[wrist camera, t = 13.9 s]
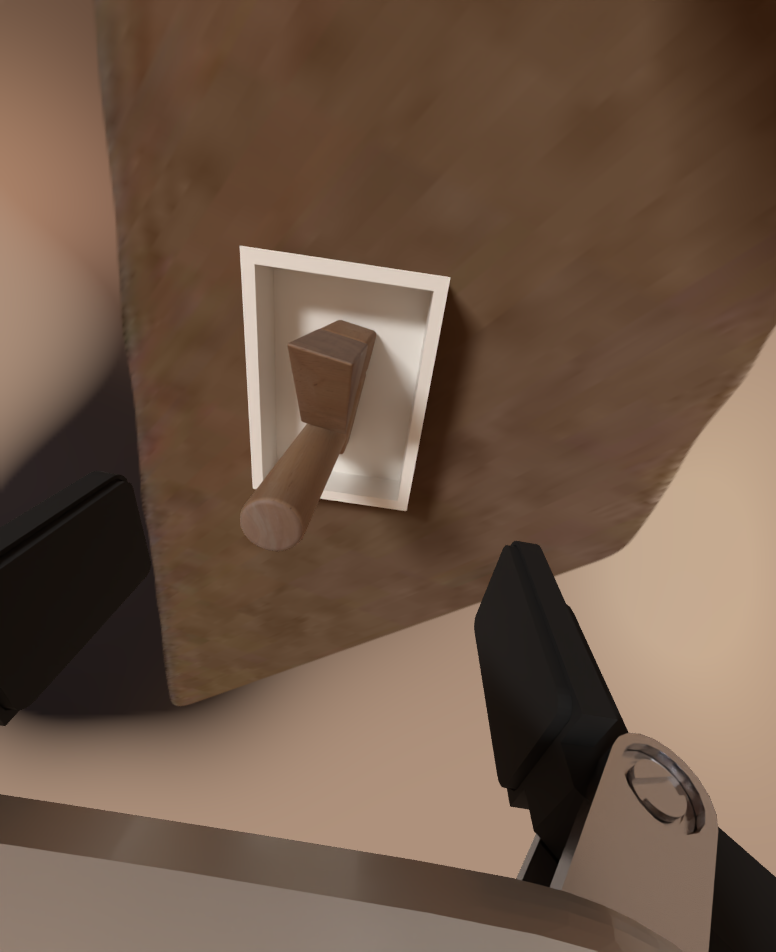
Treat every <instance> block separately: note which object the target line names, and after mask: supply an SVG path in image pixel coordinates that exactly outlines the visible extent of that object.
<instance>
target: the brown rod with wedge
mask: <svg viewBox="0 0 776 952" xmlns="http://www.w3.org/2000/svg"><path fill="white" fill-rule="evenodd" d="M375 339H376V332H375V331H374V330H371V329H368V328H365V327H362V326H359V325H355V324H352V323H349V322H346V321H343V320H337V321H335V322H333V323H331V324H329V325H327V326H325V327H322V328H320V329H317V330H315V331H313V332H311V333H309V334H306V335H304V336H302V337H300V338H298V339H296V340H294V341H291V342H289V343H288V345H287V347H288V352H289V358H290V363H291V369H292V374H293V379H294V385H295V390H296V395H297V401H298V406H299V412H300V417H301V421H302V422H304V423H307V424H306V425H305V427H304V428H303V429H302V431H301V432H300V433H299V435H298V436H297V437H296V438H295V440H294V441H293V442H292V444H291V445H290V446H289V448H288V449H287V450H286V451H285V453H284V454H283V455H282V457H281V458H280V459H279V461H278V462H277V463H276V464H275V466H274V467H273V468H272V470H271V471H270V472H269V474H268V475H267V476H266V477H265V479H264V480H263V481H262V483H261V484H260V485H259V487H258V488H257V489H256V490H255V492H254V493H253V494H252V496H251V497H250V498H249V500H248V501H247V502H246V503H245V505H244V506H243V508H242V511H241V514H240V524H241V528H242V530H243V532H244V534H245V535H246V537H247V538H248V539H249V540H250V541H251V542H253V543H254V544H255V545H257V546H258V547H261V548H264V549H266V550H271V551H284V550H287V549H290V548H292V547H294V546H296V545H297V544H298V543H299V542H300V541H301V540H302V538H303V536H304V534H305V532H306V529H307V527H308V525H309V522H310V520H311V518H312V516H313V513H314V511H315V509H316V506H317V504H318V502H319V500H320V497H321V495H322V493H323V491H324V488H325V486H326V484H327V481H328V479H329V477H330V475H331V472H332V470H333V468H334V465H335V463H336V461H337V459H338V456H339V454H343V453H344V451H345V449H346V446H347V444H348V442H349V439H350V435H351V431H352V427H353V424H354V420H355V416H356V412H357V408H358V404H359V401H360V397H361V393H362V389H363V385H364V381H365V378H366V371H367V369H368V366H369V362H370V359H371V355H372V351H373V347H374V343H375Z"/></svg>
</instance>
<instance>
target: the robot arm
mask: <svg viewBox="0 0 776 952" xmlns="http://www.w3.org/2000/svg"><path fill="white" fill-rule="evenodd" d="M150 566H151V561H150V558H149V553H148V549H147V545H146V540H145V536H144V532H143V528H142V524H141V520H140V515H139V511H138V507H137V503H136V498H135V494H134V490H133V487H132V485H131V484H130V483H128V482H127V479H126V478H125V477H124V476H122V475H119V474H112V473H106V472H101V471H94V472H91V473H89V474H88V475H86V476H84V477H83V478H81V479H79V480H78V481H76V482H75V483H73V484H71V485H69V486H68V487H66V488H64V489H63V490H61V491H59V492H58V493H56V494H55V495H53V496H51V497H50V498H48V499H46V500H45V501H43V502H41V503H40V504H39V505H37V506H35V507H33V508H32V509H30V510H28V511H27V512H25V513H23V514H22V515H20V516H18V517H17V518H15V519H14V520H12V521H10V522H9V523H7V524H5V525H4V526H2V527H0V725H2V726H6V725H7V723H8V722H9V721H10V720H11V719H12V718H13V717H14V716H15V715H16V714H17V712H18V711H19V710H22V709H24V708H26V707H28V706H29V705H31V704H32V703H33V702H34V701H35V700H36V699H37V698H38V696H39V695H40V694H41V693H42V692H43V691H44V690H45V689H46V688H47V686H48V685H49V684H50V683H51V682H52V681H53V680H54V679H55V678H56V676H57V675H58V674H59V673H60V672H61V671H62V670H63V669H64V668H65V666H66V665H67V664H68V663H69V662H70V661H71V660H72V659H73V658H74V656H75V655H76V654H77V653H78V652H79V651H80V650H81V649H82V648H83V646H84V645H85V644H86V643H87V642H88V641H89V640H90V639H91V638H92V636H93V635H94V634H95V633H96V632H97V631H98V630H99V629H100V627H101V626H102V625H103V624H104V623H105V622H106V621H107V620H108V618H109V617H110V616H111V615H112V614H113V613H114V612H115V611H116V610H117V608H118V607H119V606H120V605H121V604H122V603H123V602H124V601H125V599H126V598H127V597H128V596H129V595H130V594H131V593H132V592H133V591H134V590H135V588H136V587H137V586H138V585H139V584H140V583H141V582H142V581H143V579H145V577H146V576H147V574H148V573H149V570H150ZM474 630H475V637H476V644H477V649H478V656H479V663H480V668H481V675H482V682H483V688H484V694H485V700H486V707H487V713H488V720H489V726H490V732H491V739H492V745H493V751H494V758H495V764H496V770H497V776H498V780H499V783H500V785H501V786H502V787H504V788H507V791H508V797H509V803H510V806H511V807H517V808H524V809H529V810H530V815H531V820H532V824H533V829H534V831H535V833H536V835H535V837H534V840H533V842H532V844H531V847H530V849H529V851H528V853H527V855H526V858H525V860H524V862H523V865H522V867H521V869H520V871H519V874H518V876H517V878H516V879H514V878H509V877H503V876H498V875H493V874H487V873H481V872H476V871H471V870H465V869H459V868H455V867H449V866H444V865H438V864H433V863H428V862H422V861H417V860H411V859H405V858H398V857H393V856H387V855H380V854H374V853H368V852H362V851H356V850H350V849H343V848H337V847H331V846H325V845H319V844H313V843H307V842H301V841H294V840H288V839H282V838H276V837H269V836H264V835H257V834H251V833H245V832H238V831H232V830H226V829H219V828H213V827H207V826H200V825H194V824H187V823H181V822H175V821H169V820H162V819H156V818H150V817H143V816H137V815H130V814H124V813H118V812H111V811H105V810H99V809H92V808H86V807H78V806H72V805H67V804H60V803H54V802H47V801H40V800H33V799H27V798H21V797H14V796H7V795H1V794H0V952H776V877H775V876H774V875H773V874H771V873H770V872H769V871H768V870H767V869H766V868H765V867H763V866H762V865H761V864H760V863H759V862H758V861H757V860H755V859H754V858H753V857H752V856H751V855H750V854H749V853H747V852H746V851H745V850H744V849H743V848H742V847H741V846H739V845H738V844H737V843H736V842H735V841H734V840H733V839H732V838H730V837H729V836H728V835H727V834H726V833H725V832H723V831H722V830H721V829H720V828H719V827H718V824H717V814H716V812H715V809H714V807H713V804H712V802H711V799H710V796H709V795H708V793H707V792H706V790H705V788H704V787H703V785H702V784H701V782H700V780H699V779H698V777H697V776H696V775H695V774H694V773H693V771H692V770H691V769H690V768H689V767H688V766H687V764H686V763H685V762H684V761H683V760H682V759H680V758H679V757H678V756H677V755H676V754H675V753H674V752H673V751H671V750H670V749H669V748H667V747H666V746H664V745H663V744H661V743H660V742H658V741H656V740H655V739H652V738H650V737H647V736H645V735H642V734H636V733H628V731H627V728H626V726H625V724H624V722H623V719H622V717H621V715H620V713H619V711H618V709H617V707H616V704H615V702H614V700H613V698H612V695H611V693H610V691H609V689H608V687H607V685H606V682H605V680H604V678H603V676H602V674H601V672H600V669H599V667H598V665H597V663H596V661H595V659H594V656H593V654H592V652H591V650H590V647H589V645H588V644H587V641H586V639H585V637H584V634H583V632H582V630H581V628H580V626H579V623H578V621H577V619H576V617H575V615H574V613H573V611H572V610H571V608H570V607H569V606H568V605H567V604H566V603H565V601H564V599H563V596H562V594H561V592H560V589H559V587H558V585H557V583H556V580H555V578H554V576H553V574H552V571H551V569H550V567H549V565H548V563H547V560H546V558H545V556H544V554H543V551H542V549H541V547H540V546H539V545H537V544H532V543H526V542H520V541H514V542H513V543H512V544H511V546H508V545H506V546H505V547H504V548H503V550H502V553H501V555H500V557H499V560H498V562H497V565H496V567H495V570H494V572H493V575H492V577H491V580H490V582H489V585H488V587H487V590H486V592H485V594H484V597H483V599H482V602H481V604H480V607H479V609H478V612H477V614H476V617H475V623H474Z"/></svg>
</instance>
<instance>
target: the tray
mask: <svg viewBox="0 0 776 952" xmlns="http://www.w3.org/2000/svg"><path fill="white" fill-rule="evenodd" d="M240 259H241V278H242V296H243V315H244V333H245V352H246V370H247V388H248V407H249V425H250V444H251V462H252V481H253V489H257V488H258V487H259V485H260V484H261V483H262V481H263V480H264V479H265V477H266V476H267V475H268V474H269V472H270V471H271V470H272V468H273V467H274V466H275V464H276V463H277V462H278V461H279V459H280V458H281V457H282V455H283V454H284V453H285V451H286V450H287V449H288V448H289V446H290V445H291V444H292V442H293V441H294V440H295V438H296V437H297V436H298V435H299V433H300V432H301V431H302V429H303V428H304V427H305V425H306V424H307V423H304V422H302V421H301V417H300V412H299V406H298V401H297V395H296V390H295V385H294V379H293V374H292V369H291V363H290V358H289V352H288V347H287V345H288V343H289V342H291V341H294V340H296V339H298V338H300V337H302V336H304V335H306V334H309V333H311V332H313V331H315V330H317V329H320V328H322V327H325V326H327V325H329V324H331V323H333V322H335V321H337V320H343V321H346V322H349V323H352V324H355V325H359V326H362V327H365V328H368V329H371V330H374V331H375V332H376V339H375V343H374V347H373V351H372V355H371V359H370V362H369V366H368V369H367V371H366V378H365V381H364V385H363V389H362V393H361V397H360V401H359V404H358V408H357V412H356V416H355V420H354V424H353V427H352V431H351V435H350V439H349V442H348V444H347V446H346V449H345V451H344V453H343V454H339V456H338V459H337V461H336V463H335V465H334V468H333V470H332V472H331V475H330V477H329V479H328V481H327V484H326V486H325V488H324V491H323V493H322V495H321V497H320V499H327V500H334V501H341V502H347V503H354V504H361V505H368V506H375V507H382V508H388V509H395V510H402V511H407V506H408V500H409V495H410V490H411V485H412V479H413V474H414V469H415V463H416V458H417V453H418V447H419V442H420V437H421V431H422V426H423V421H424V416H425V410H426V405H427V400H428V394H429V389H430V384H431V378H432V373H433V368H434V362H435V357H436V352H437V347H438V341H439V336H440V331H441V325H442V320H443V315H444V309H445V304H446V299H447V293H448V288H449V283H450V278H451V277H445V276H438V275H431V274H425V273H418V272H411V271H405V270H398V269H391V268H385V267H378V266H372V265H365V264H358V263H352V262H345V261H338V260H332V259H325V258H319V257H312V256H305V255H299V254H292V253H285V252H279V251H272V250H265V249H259V248H252V247H246V246H240Z"/></svg>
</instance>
